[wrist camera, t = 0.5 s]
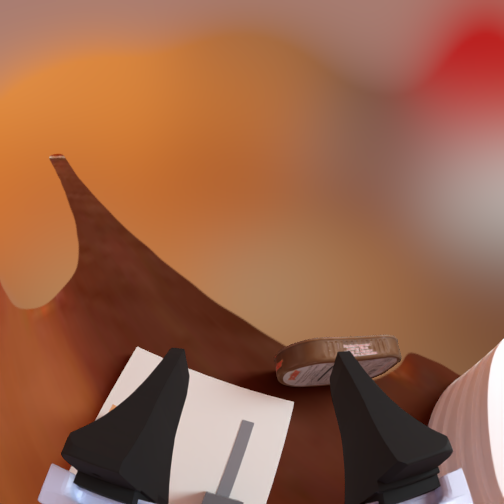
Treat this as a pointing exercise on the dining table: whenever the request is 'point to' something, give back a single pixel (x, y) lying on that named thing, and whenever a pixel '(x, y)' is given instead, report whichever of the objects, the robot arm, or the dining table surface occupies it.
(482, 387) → the plate stack
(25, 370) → the dining table surface
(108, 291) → the dining table surface
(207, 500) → the gray rectangular block
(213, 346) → the dining table surface
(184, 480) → the board
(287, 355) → the tin
